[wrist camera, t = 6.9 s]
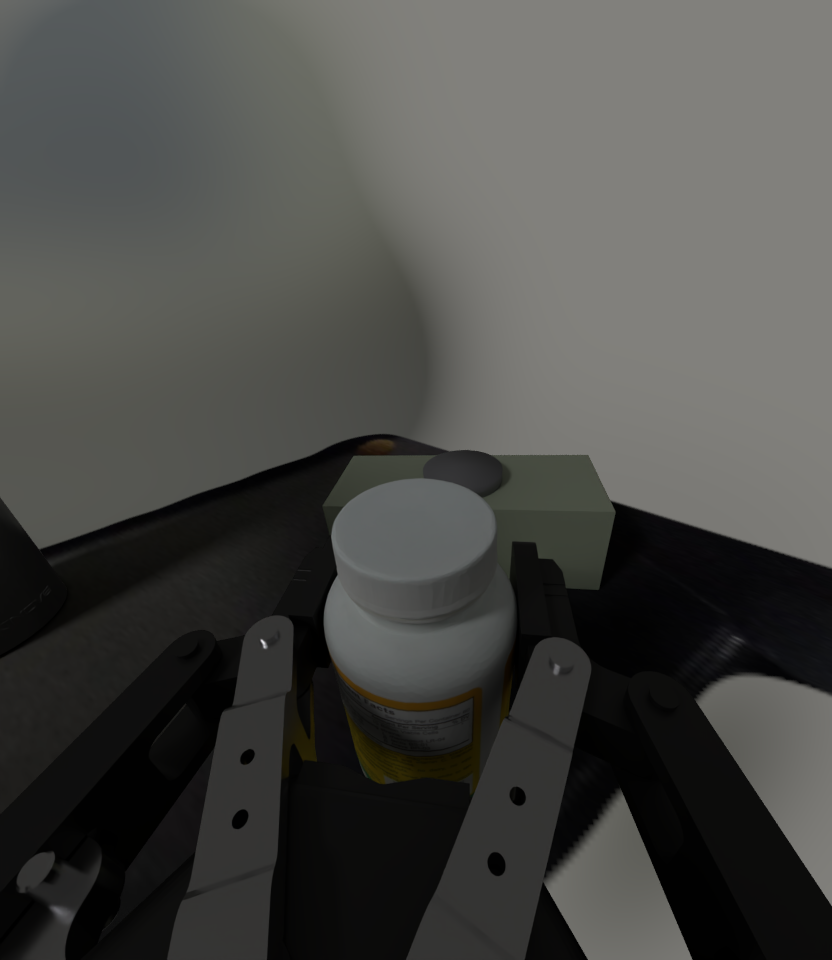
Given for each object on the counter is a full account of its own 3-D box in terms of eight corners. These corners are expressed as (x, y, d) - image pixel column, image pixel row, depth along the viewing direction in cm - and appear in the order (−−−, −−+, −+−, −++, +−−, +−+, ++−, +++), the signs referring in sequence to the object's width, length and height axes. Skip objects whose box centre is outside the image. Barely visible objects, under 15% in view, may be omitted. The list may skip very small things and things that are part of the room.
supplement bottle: (423, 872, 11) (388, 665, 6) (330, 725, 15) (260, 520, 10) (537, 735, 14) (575, 518, 9) (435, 640, 18) (422, 449, 13)
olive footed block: (312, 638, 27) (282, 549, 23) (365, 518, 39) (351, 445, 35) (623, 664, 24) (652, 565, 20) (577, 523, 35) (589, 443, 31)
